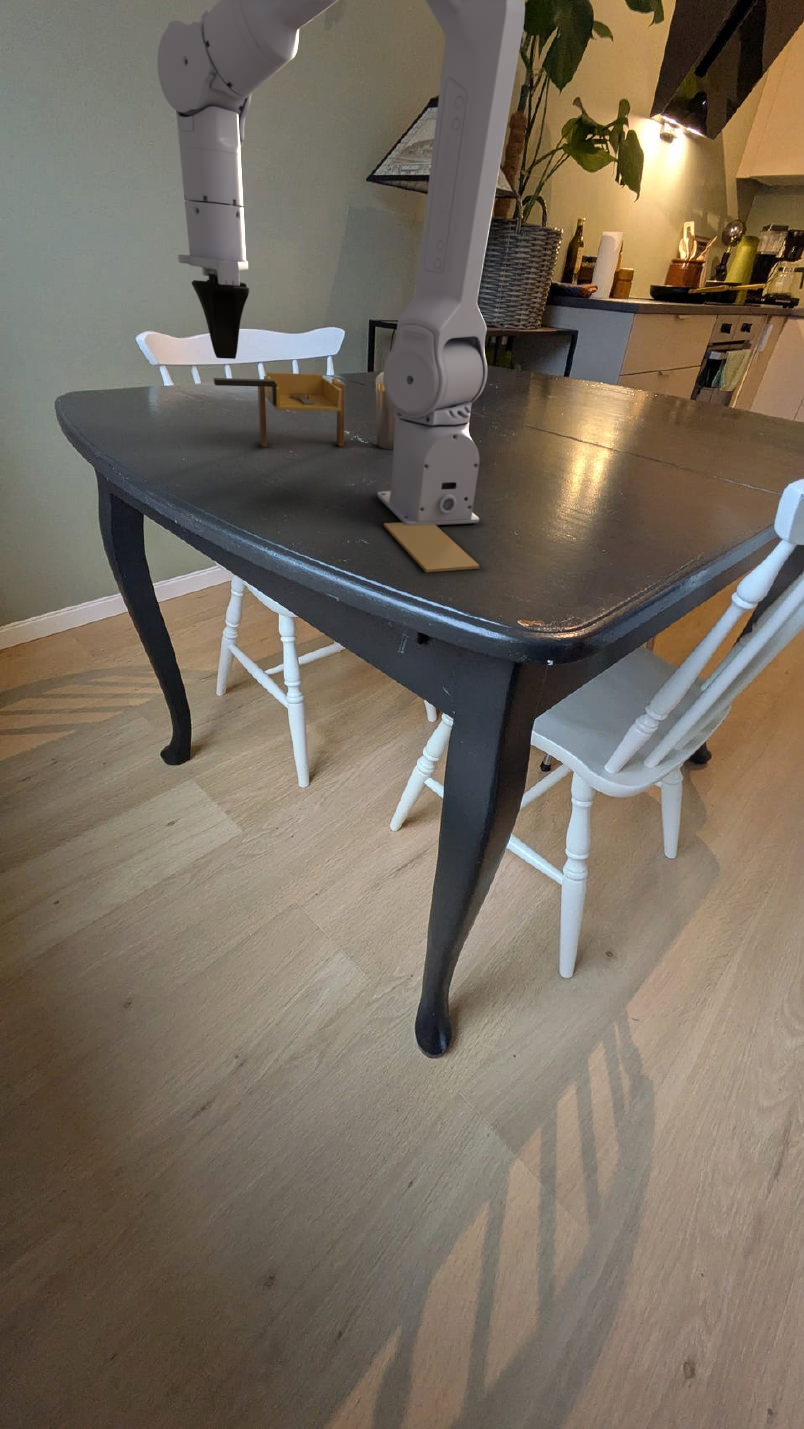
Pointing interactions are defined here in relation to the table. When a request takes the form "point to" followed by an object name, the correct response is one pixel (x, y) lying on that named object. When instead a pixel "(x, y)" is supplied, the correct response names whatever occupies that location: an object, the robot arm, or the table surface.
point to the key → (302, 398)
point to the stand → (263, 416)
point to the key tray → (294, 390)
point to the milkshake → (384, 416)
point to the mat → (431, 547)
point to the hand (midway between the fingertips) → (225, 357)
